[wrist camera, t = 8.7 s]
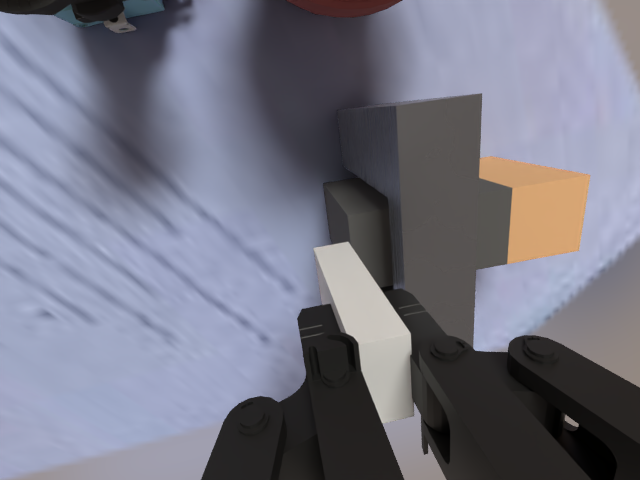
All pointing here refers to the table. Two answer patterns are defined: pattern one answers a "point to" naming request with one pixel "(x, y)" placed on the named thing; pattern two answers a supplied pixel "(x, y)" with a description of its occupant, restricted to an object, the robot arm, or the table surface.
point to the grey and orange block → (493, 215)
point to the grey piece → (425, 196)
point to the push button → (87, 11)
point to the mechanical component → (344, 7)
